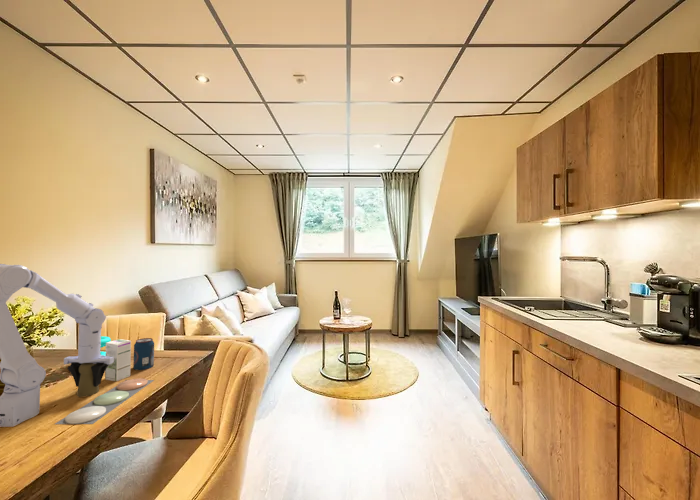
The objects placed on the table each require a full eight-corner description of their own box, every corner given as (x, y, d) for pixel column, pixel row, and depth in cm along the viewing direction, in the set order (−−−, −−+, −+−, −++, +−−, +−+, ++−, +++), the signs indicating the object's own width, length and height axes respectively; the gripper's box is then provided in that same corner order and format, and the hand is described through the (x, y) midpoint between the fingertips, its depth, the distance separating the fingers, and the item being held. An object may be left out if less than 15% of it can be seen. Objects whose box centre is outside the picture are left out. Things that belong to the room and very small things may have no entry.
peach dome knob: (137, 390, 108) (137, 388, 108) (110, 390, 107) (110, 388, 107) (152, 380, 117) (152, 378, 117) (127, 380, 116) (127, 378, 116)
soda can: (132, 368, 130) (132, 339, 130) (151, 365, 134) (152, 336, 135) (134, 374, 125) (135, 343, 125) (155, 370, 129) (156, 340, 129)
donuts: (116, 336, 141) (92, 342, 131) (116, 359, 140) (91, 367, 131) (100, 334, 143) (75, 340, 134) (99, 356, 143) (74, 364, 134)
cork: (86, 400, 102) (87, 366, 102) (71, 398, 103) (72, 364, 103) (104, 392, 108) (105, 360, 108) (89, 391, 109) (90, 358, 109)
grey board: (92, 427, 87) (92, 423, 87) (54, 427, 86) (54, 424, 86) (154, 382, 117) (154, 380, 117) (125, 382, 116) (125, 380, 116)
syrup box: (131, 378, 120) (132, 339, 121) (115, 384, 115) (117, 343, 115) (119, 376, 122) (120, 338, 122) (103, 382, 116) (105, 342, 116)
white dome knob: (90, 423, 87) (90, 421, 87) (56, 424, 86) (56, 421, 86) (113, 407, 96) (113, 405, 96) (82, 408, 95) (82, 406, 95)
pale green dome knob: (116, 405, 97) (116, 403, 97) (86, 405, 97) (86, 403, 97) (135, 392, 106) (135, 390, 106) (107, 392, 106) (107, 390, 106)
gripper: (120, 341, 110) (119, 380, 110) (76, 340, 109) (75, 380, 109) (105, 347, 103) (104, 389, 103) (58, 346, 102) (57, 389, 102)
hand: (88, 385), depth 105 cm, fingers closed on cork, 5 cm apart
